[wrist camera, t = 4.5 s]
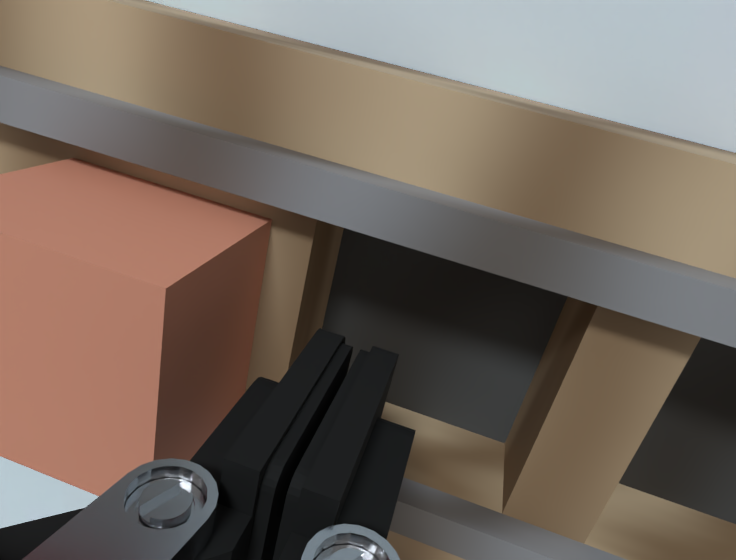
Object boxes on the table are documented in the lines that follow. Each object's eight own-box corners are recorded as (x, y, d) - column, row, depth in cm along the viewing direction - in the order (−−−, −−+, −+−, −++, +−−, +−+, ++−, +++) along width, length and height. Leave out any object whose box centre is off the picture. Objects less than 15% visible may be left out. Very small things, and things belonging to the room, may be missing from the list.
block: (272, 219, 12) (165, 289, 8) (243, 399, 14) (149, 516, 10) (73, 157, 13) (-104, 197, 9) (74, 338, 15) (-68, 428, 11)
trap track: (1091, 245, 11) (1645, 426, 6) (773, 616, 16) (902, 900, 11) (-244, -101, 16) (-643, -183, 10) (-164, 270, 21) (-405, 345, 15)
